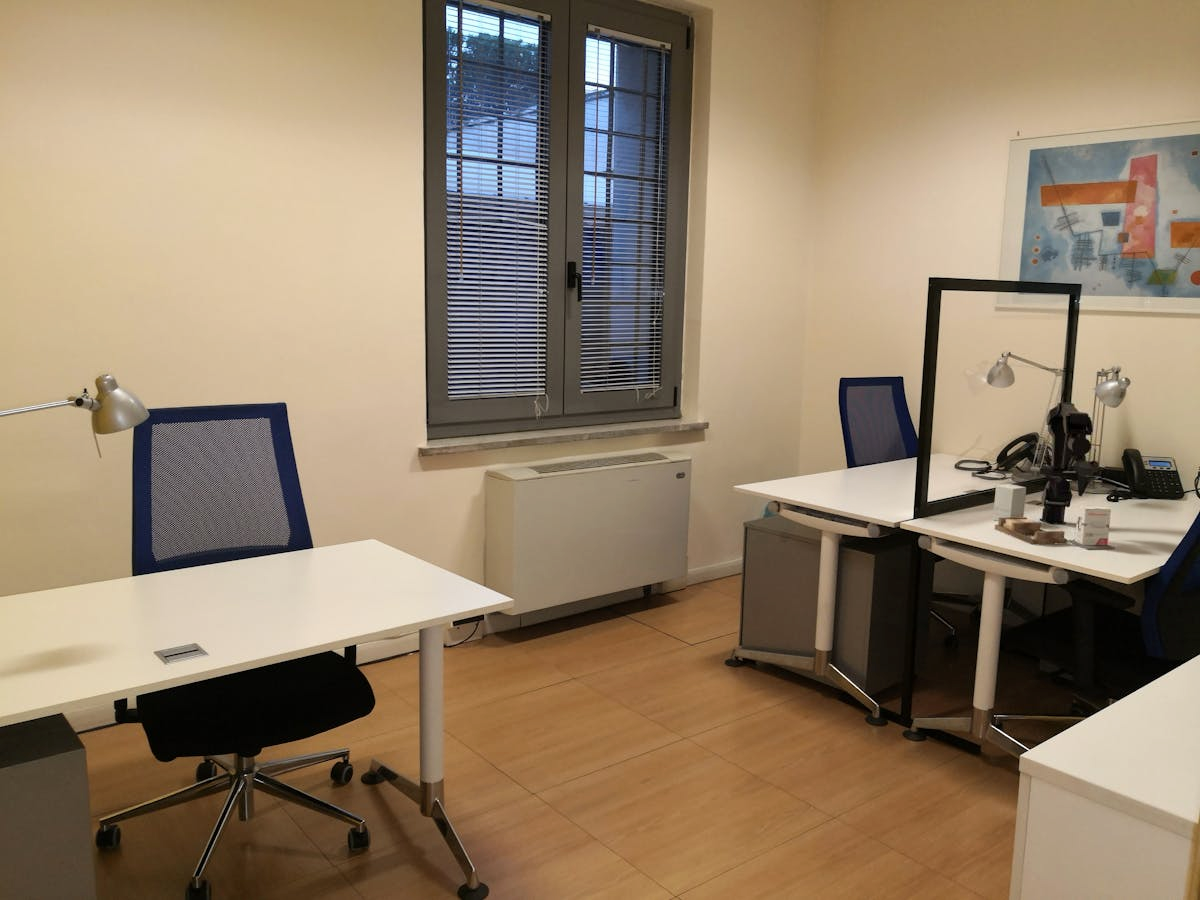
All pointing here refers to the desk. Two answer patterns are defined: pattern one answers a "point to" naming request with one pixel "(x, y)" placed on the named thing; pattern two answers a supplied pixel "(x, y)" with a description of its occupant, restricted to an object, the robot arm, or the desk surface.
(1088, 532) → the ink box
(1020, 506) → the supplement box
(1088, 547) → the dark grey mat
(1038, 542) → the walnut rack
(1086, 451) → the robot arm
